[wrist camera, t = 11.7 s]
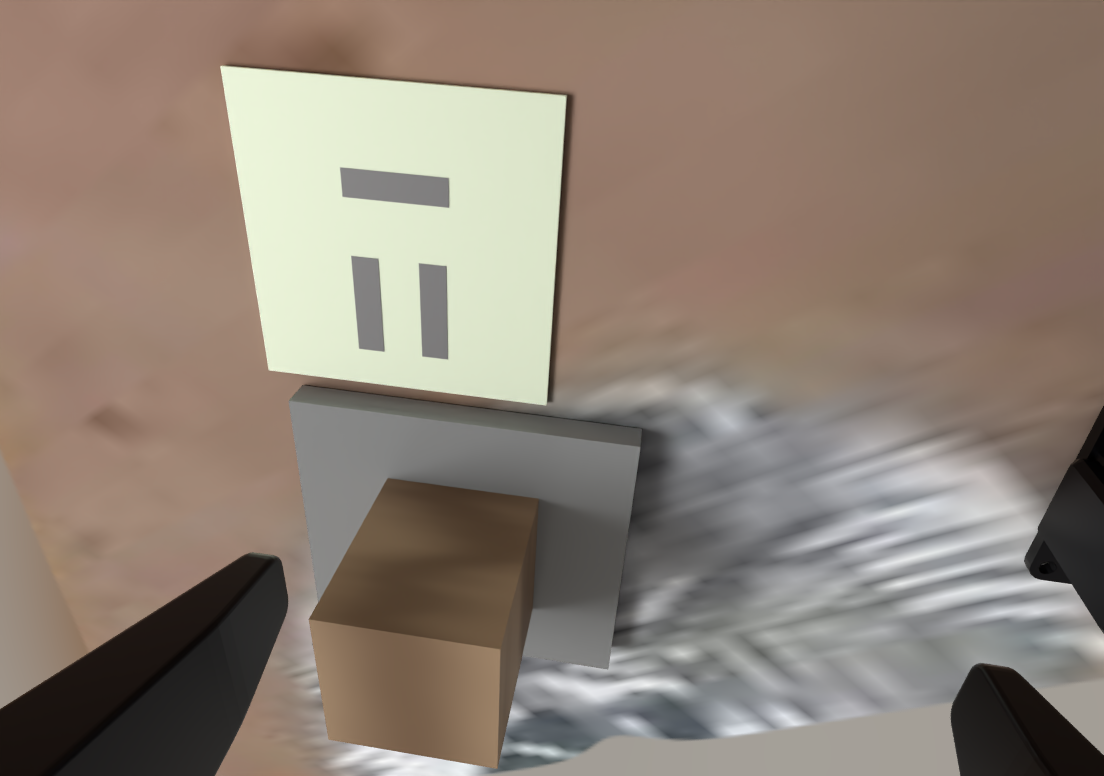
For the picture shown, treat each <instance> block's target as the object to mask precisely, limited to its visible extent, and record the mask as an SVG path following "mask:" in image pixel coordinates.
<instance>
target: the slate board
mask: <svg viewBox="0 0 1104 776" xmlns="http://www.w3.org/2000/svg"><path fill="white" fill-rule="evenodd" d="M289 407H290V414H291V420H292V427H293V434H294V441H295V448H296V454H297V461H298V468H299V475H300V482H301V488H302V495H303V502H304V509H305V515H306V522H307V529H308V536H309V543H310V549H311V556H312V563H313V570H314V577H315V583H316V590H317V597H318V602H319V600H320V598H321V597H322V595H323V593H324V591H325V589H326V588H327V586H328V584H329V582H330V580H331V579H332V577H333V575H334V573H335V572H336V570H337V568H338V566H339V564H340V563H341V561H342V559H343V557H344V555H345V554H346V552H347V550H348V548H349V546H350V545H351V543H352V541H353V539H354V537H355V536H356V534H357V532H358V530H359V528H360V527H361V525H362V523H363V521H364V519H365V518H366V516H367V514H368V512H369V510H370V509H371V507H372V505H373V503H374V501H375V500H376V498H377V496H378V494H379V492H380V491H381V489H382V487H383V485H384V483H385V482H386V480H387V478H391V479H398V480H405V481H413V482H420V483H427V484H435V485H442V486H450V487H457V488H464V489H472V490H479V491H486V492H494V493H501V494H508V495H516V496H523V497H531V498H538V499H539V505H538V523H537V541H536V558H535V576H534V594H533V610H532V614H531V619H530V623H529V628H528V632H527V637H526V641H525V646H524V650H523V655H522V656H528V657H534V658H540V659H546V660H552V661H559V662H565V663H571V664H577V665H584V666H590V667H596V668H602V669H608V667H609V660H610V653H611V646H612V640H613V633H614V626H615V619H616V612H617V605H618V599H619V592H620V585H621V578H622V571H623V564H624V557H625V551H626V544H627V537H628V530H629V523H630V516H631V509H632V503H633V496H634V489H635V482H636V475H637V468H638V461H639V455H640V448H641V435H642V429H640V428H632V427H624V426H617V425H609V424H601V423H593V422H586V421H578V420H570V419H562V418H554V417H547V416H539V415H531V414H523V413H515V412H508V411H500V410H492V409H484V408H477V407H469V406H461V405H453V404H445V403H438V402H430V401H422V400H414V399H407V398H399V397H391V396H383V395H375V394H368V393H360V392H352V391H344V390H336V389H329V388H321V387H313V386H305V385H302V386H301V388H300V389H299V390H298V391H297V392H296V393H295V394H294V395H293V397H292V398H291V399H290V400H289Z"/></svg>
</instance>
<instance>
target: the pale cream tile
mask: <svg viewBox="0 0 1104 776" xmlns="http://www.w3.org/2000/svg"><path fill="white" fill-rule="evenodd" d="M220 67H221V73H222V79H223V85H224V92H225V98H226V104H227V111H228V117H229V123H230V129H231V136H232V142H233V148H234V154H235V161H236V167H237V173H238V180H239V186H240V192H241V198H242V205H243V211H244V217H245V224H246V230H247V236H248V242H249V249H250V255H251V261H252V267H253V274H254V280H255V286H256V293H257V299H258V305H259V311H260V318H261V324H262V330H263V336H264V343H265V349H266V355H267V362H268V368H269V370H271V371H279V372H287V373H295V374H303V375H311V376H319V377H326V378H334V379H342V380H350V381H358V382H366V383H374V384H382V385H389V386H397V387H405V388H413V389H421V390H429V391H437V392H444V393H452V394H460V395H468V396H476V397H484V398H492V399H500V400H507V401H515V402H523V403H531V404H539V405H547V398H548V383H549V367H550V352H551V336H552V320H553V305H554V289H555V274H556V258H557V243H558V227H559V211H560V196H561V180H562V165H563V149H564V134H565V118H566V102H567V95H563V94H551V93H539V92H528V91H516V90H505V89H493V88H481V87H470V86H458V85H446V84H435V83H423V82H412V81H400V80H388V79H377V78H365V77H353V76H342V75H330V74H319V73H307V72H295V71H284V70H272V69H260V68H249V67H237V66H226V65H223V66H220Z"/></svg>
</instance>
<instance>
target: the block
mask: <svg viewBox="0 0 1104 776" xmlns="http://www.w3.org/2000/svg"><path fill="white" fill-rule="evenodd" d="M538 505H539V499H538V498H531V497H523V496H516V495H508V494H501V493H494V492H486V491H479V490H472V489H464V488H457V487H450V486H442V485H435V484H427V483H420V482H413V481H405V480H398V479H391V478H387V480H386V482H385V483H384V485H383V487H382V489H381V491H380V492H379V494H378V496H377V498H376V500H375V501H374V503H373V505H372V507H371V509H370V510H369V512H368V514H367V516H366V518H365V519H364V521H363V523H362V525H361V527H360V528H359V530H358V532H357V534H356V536H355V537H354V539H353V541H352V543H351V545H350V546H349V548H348V550H347V552H346V554H345V555H344V557H343V559H342V561H341V563H340V564H339V566H338V568H337V570H336V572H335V573H334V575H333V577H332V579H331V580H330V582H329V584H328V586H327V588H326V589H325V591H324V593H323V595H322V597H321V598H320V600H319V602H318V604H317V606H316V607H315V609H314V611H313V613H312V615H311V616H310V618H309V624H310V630H311V636H312V642H313V648H314V654H315V660H316V666H317V672H318V678H319V684H320V690H321V696H322V702H323V708H324V714H325V720H326V726H327V733H328V739H329V740H334V741H340V742H346V743H352V744H357V745H363V746H369V747H375V748H381V749H386V750H392V751H398V752H404V753H409V754H415V755H421V756H427V757H433V758H438V759H444V760H450V761H456V762H461V763H467V764H473V765H479V766H485V767H490V768H496V769H497V768H498V764H499V759H500V755H501V750H502V745H503V741H504V736H505V732H506V727H507V723H508V718H509V714H510V709H511V705H512V700H513V696H514V691H515V687H516V682H517V678H518V673H519V669H520V664H521V660H522V655H523V650H524V646H525V641H526V637H527V632H528V628H529V623H530V619H531V614H532V610H533V594H534V576H535V558H536V541H537V523H538Z"/></svg>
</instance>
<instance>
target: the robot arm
mask: <svg viewBox="0 0 1104 776" xmlns="http://www.w3.org/2000/svg"><path fill="white" fill-rule="evenodd" d="M1024 562H1025V565H1026V567H1027V568H1028V570H1029V572H1030V574H1031V575H1032V576H1033V577H1035V578H1037V579H1040V580H1047V581H1054V582H1061V583H1068V584H1072V585H1073V587H1074V588H1075V590H1076V591H1077V593H1078V595H1079V596H1080V598H1081V599H1082V601H1083V602H1084V604H1085V606H1086V607H1087V609H1088V610H1089V612H1090V613H1091V615H1092V617H1093V618H1094V620H1095V621H1096V623H1097V625H1098V626H1099V628H1100V629H1101V630H1102V632H1103V633H1104V406H1103V408H1102V410H1101V412H1100V414H1099V416H1098V418H1097V420H1096V422H1095V423H1094V425H1093V427H1092V429H1091V431H1090V433H1089V435H1088V437H1087V439H1086V441H1085V443H1084V445H1083V446H1082V448H1081V450H1080V452H1079V454H1078V456H1077V458H1076V460H1075V462H1073V463H1072V464H1071V465H1070V467H1069V468H1068V470H1067V472H1066V474H1065V476H1064V478H1063V480H1062V482H1061V484H1060V486H1059V488H1058V490H1057V492H1056V494H1055V495H1054V497H1053V499H1052V501H1051V503H1050V505H1049V507H1048V509H1047V511H1046V513H1045V515H1044V517H1043V519H1042V521H1041V522H1040V524H1039V526H1038V533H1037V535H1036V537H1035V539H1034V541H1033V542H1032V544H1031V546H1030V548H1029V550H1028V552H1027V554H1026V556H1025V560H1024ZM1044 562H1048V563H1047V564H1044V565H1041V564H1042V563H1044ZM287 608H288V594H287V589H286V583H285V577H284V571H283V566H282V562H281V560H280V559H279V558H278V557H277V556H274V555H268V554H261V553H254V552H252V553H248V554H245V555H243V556H242V557H240V558H238V559H237V560H235V561H234V562H232V563H231V564H229V565H227V566H226V567H224V568H223V569H221V570H219V571H218V572H216V573H215V574H213V575H212V576H210V577H208V578H207V579H205V580H204V581H202V582H200V583H199V584H197V585H196V586H194V587H193V588H191V589H189V590H188V591H186V592H185V593H183V594H181V595H180V596H178V597H177V598H175V599H174V600H172V601H170V602H169V603H167V604H166V605H164V606H162V607H161V608H159V609H158V610H156V611H155V612H153V613H151V614H150V615H148V616H147V617H145V618H143V619H142V620H140V621H139V622H137V623H136V624H134V625H132V626H131V627H129V628H128V629H126V630H124V631H123V632H121V633H120V634H118V635H117V636H115V637H113V638H112V639H110V640H109V641H107V642H105V643H104V644H102V645H101V646H99V647H98V648H96V649H94V650H93V651H91V652H90V653H88V654H86V655H85V656H83V657H82V658H80V659H79V660H77V661H76V662H74V663H72V664H71V665H69V666H67V667H66V668H64V669H63V670H61V671H60V672H58V673H56V674H55V675H53V676H52V677H50V678H49V679H47V680H45V681H44V682H42V683H41V684H39V685H38V686H36V687H34V688H33V689H31V690H30V691H28V692H26V693H25V694H23V695H22V696H20V697H18V698H17V699H16V700H14V701H12V702H11V703H9V704H7V705H6V706H4V707H3V708H1V709H0V776H215V775H216V773H217V771H218V769H219V767H220V765H221V763H222V761H223V759H224V757H225V756H226V754H227V752H228V750H229V748H230V746H231V744H232V742H233V740H234V738H235V736H236V734H237V732H238V730H239V728H240V726H241V724H242V722H243V720H244V718H245V715H246V713H247V711H248V708H249V706H250V704H251V701H252V699H253V696H254V694H255V691H256V689H257V686H258V684H259V681H260V679H261V676H262V674H263V671H264V669H265V666H266V664H267V661H268V659H269V656H270V654H271V651H272V649H273V646H274V644H275V641H276V639H277V636H278V634H279V631H280V629H281V626H282V624H283V621H284V619H285V616H286V613H287ZM951 726H952V731H953V737H954V742H955V748H956V754H957V759H958V765H959V770H960V776H1104V755H1103V754H1102V753H1101V752H1100V751H1099V750H1097V749H1096V748H1095V747H1094V746H1093V745H1092V744H1091V743H1090V742H1089V741H1088V740H1087V739H1086V738H1085V737H1084V736H1083V735H1082V734H1081V733H1080V732H1079V731H1078V730H1077V729H1076V728H1075V727H1074V726H1073V725H1072V724H1071V723H1070V722H1069V721H1067V719H1065V718H1064V717H1063V716H1062V715H1061V714H1060V713H1059V712H1058V711H1057V710H1056V709H1055V708H1054V707H1053V706H1052V705H1051V704H1050V703H1049V702H1048V701H1047V700H1046V699H1045V698H1044V697H1043V696H1042V695H1041V694H1040V693H1039V692H1038V691H1037V690H1036V689H1035V688H1033V687H1032V686H1031V685H1030V684H1029V683H1028V682H1027V681H1026V680H1025V679H1024V678H1023V677H1022V676H1021V675H1020V674H1019V673H1018V672H1016V671H1015V670H1013V669H1011V668H1009V667H1004V666H998V665H991V664H985V663H978V664H976V665H974V666H973V667H972V668H971V670H970V672H969V673H968V675H967V677H966V679H965V681H964V683H963V685H962V687H961V689H960V690H959V692H958V694H957V696H956V698H955V700H954V702H953V705H952V709H951Z"/></svg>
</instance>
